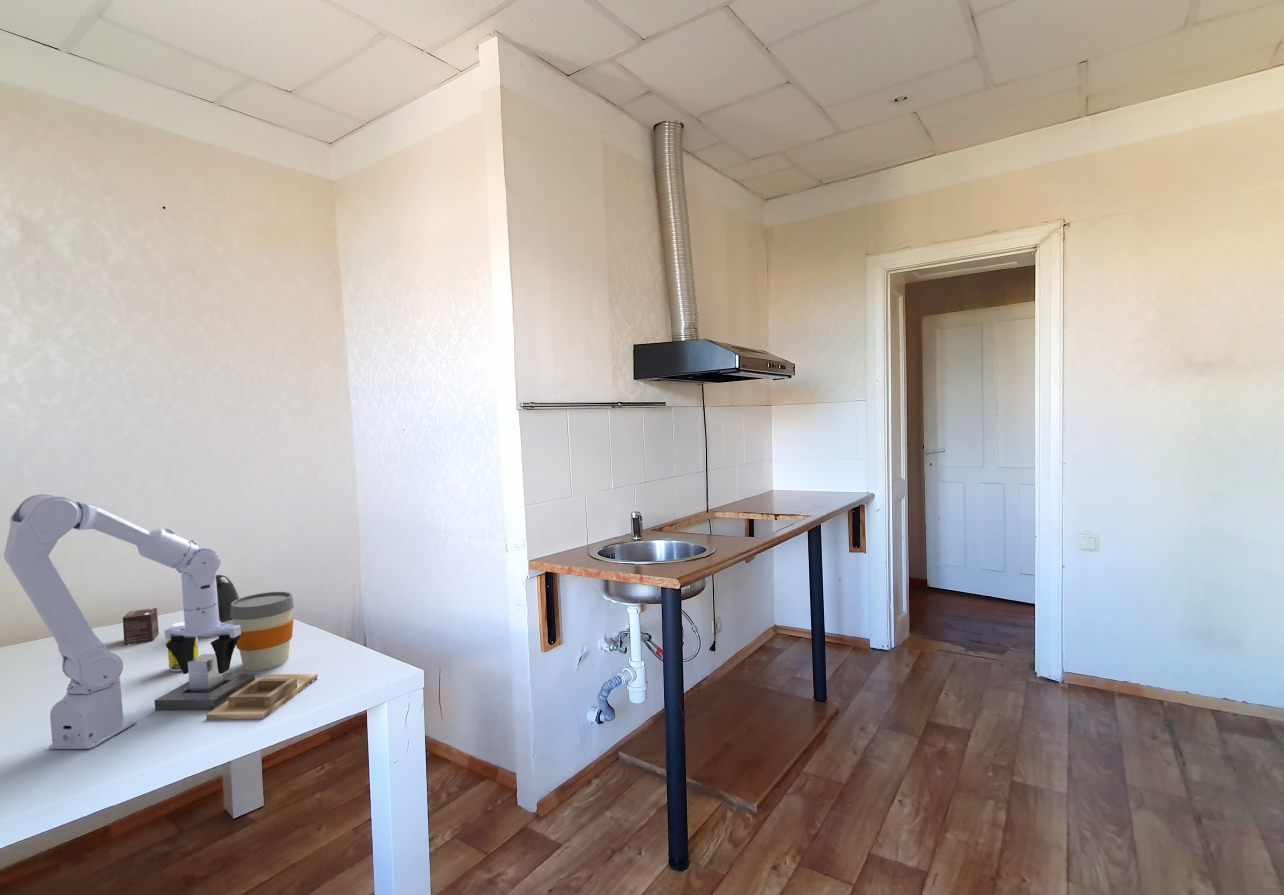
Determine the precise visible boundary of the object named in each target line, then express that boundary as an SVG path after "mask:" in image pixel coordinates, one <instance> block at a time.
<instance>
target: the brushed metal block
mask: <svg viewBox="0 0 1284 895" xmlns="http://www.w3.org/2000/svg"><path fill="white" fill-rule="evenodd" d="M187 674H188V681H189V686H190V693H211V692H212V691H214V690H216V689H217V688H219V687H221V686H222V685H223V674H224V673H220V674H219V672H218V667H217V658H216V654H215V653H202V654H199V656H198V657H196V658H194V659H192V660H190V661H188V673H187Z"/></svg>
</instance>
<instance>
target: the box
mask: <svg viewBox="0 0 1284 895" xmlns="http://www.w3.org/2000/svg"><path fill="white" fill-rule="evenodd" d="M158 619H159V618H158V608H157V607H153V608H148V609H147V608H146V609H140V610H132V611H128V612H127V613H126V614H125V615H124V616H123V617H122V628H123V642H124V643H123V644H124V646H129V645H128V644H132V645H135V644H134V643H137V644H142V642H144V643H151V642H153V641H154V640H155V639H156V637H158V635H159V633H160V632H159V620H158Z"/></svg>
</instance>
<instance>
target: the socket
mask: <svg viewBox="0 0 1284 895" xmlns="http://www.w3.org/2000/svg"><path fill="white" fill-rule="evenodd" d="M254 680H256V674H255V673H234V674H233V673H229V674H224V673H223V685H222V686H221V687H219V688H217V689H216V690H214V691H212V692H211V693H190V686H189V680H188V681H186V682H185V683H183V684H181V685H179V686H178V687H176V688H173V689H172V690H171V691H168V692H167V693H165V694H163V695H161V696H160V697H157V698H156V699H154V710H155V711H205V710H206V711H208V710H211V711H212V710H214V709H215V708H217V707H218V706H220V705H222V704H223V703H225V702H226V701H228V697H229V696H230V695H232V694H233V693H235V692H237V691H238V690H240V689H241V688H243V687H244V686H246V685H248V684H249V683H251V682H252V681H254Z"/></svg>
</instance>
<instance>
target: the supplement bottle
mask: <svg viewBox="0 0 1284 895" xmlns="http://www.w3.org/2000/svg"><path fill="white" fill-rule="evenodd" d="M173 626H185V621H181V622H180V621H179V622H176V623H172V625H170V627H173ZM198 638H199V637H196V639H195V644H194V658H196V657H198V656H200V654H199V640H198ZM166 640H167V641H166V643H168V642H170V640H171V639H166ZM167 652H168V654H167V655H168V657H167V658H168V667H169V670H170V671H171V672H175V673H177V672H179V673H180V672H182V671H181V668H180V666H179V664H178V662H177V660H176V658H175V656H174V655H173V654H172V652H171V651H170V650H169V649H168V648H167Z"/></svg>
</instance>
